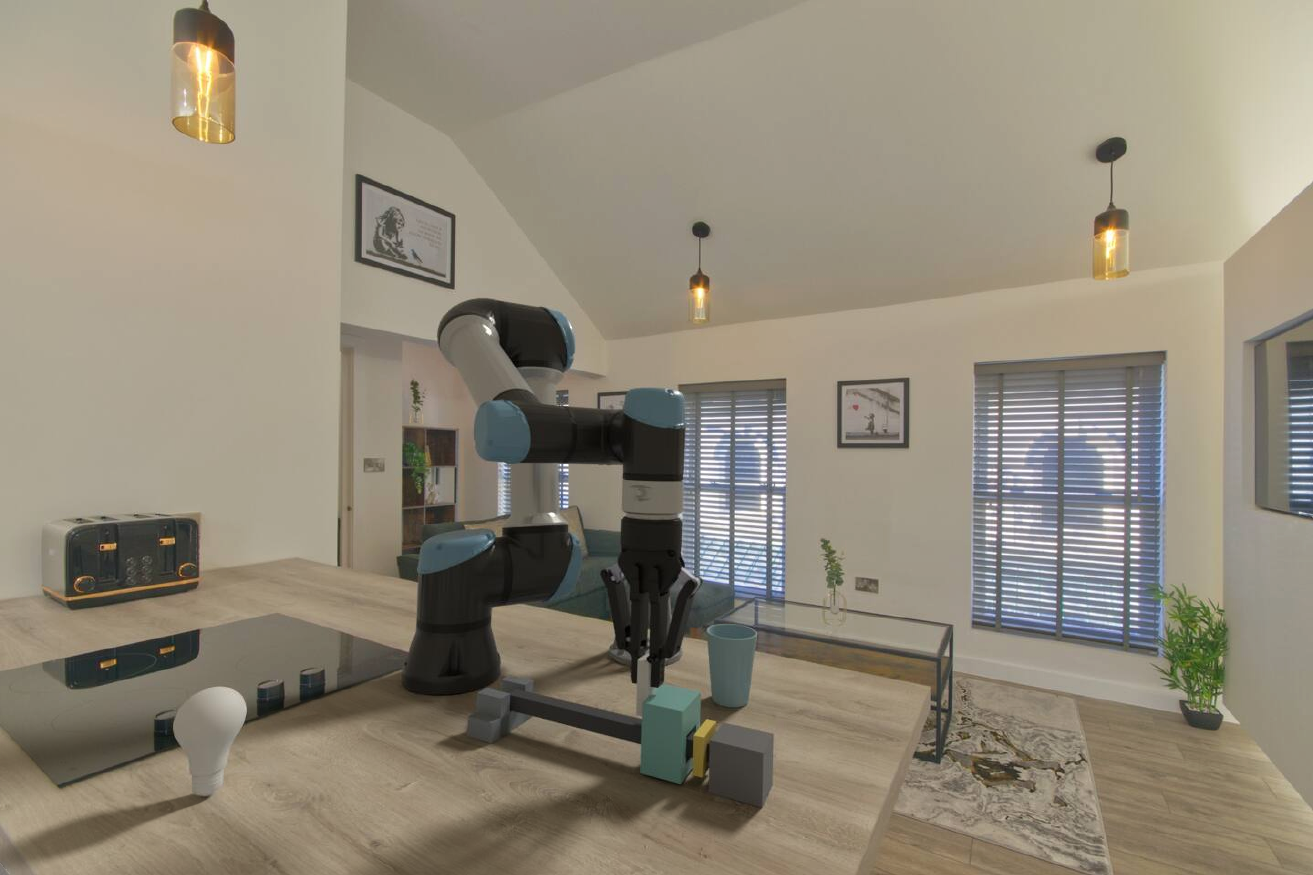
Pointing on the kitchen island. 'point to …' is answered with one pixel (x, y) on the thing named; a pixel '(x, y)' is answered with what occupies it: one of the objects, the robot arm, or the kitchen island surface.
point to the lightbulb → (209, 734)
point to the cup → (731, 663)
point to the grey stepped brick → (497, 711)
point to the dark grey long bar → (608, 723)
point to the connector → (741, 764)
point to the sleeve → (668, 732)
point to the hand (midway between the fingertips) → (646, 711)
